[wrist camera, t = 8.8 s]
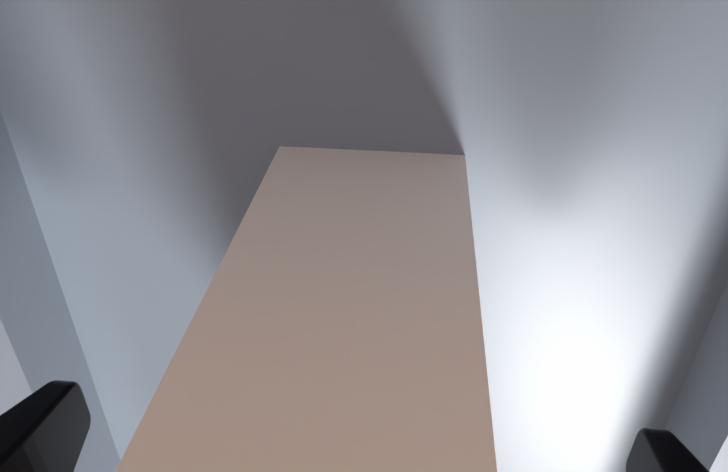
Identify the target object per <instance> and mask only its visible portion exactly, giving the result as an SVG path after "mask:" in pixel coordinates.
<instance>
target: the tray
mask: <svg viewBox="0 0 728 472" xmlns="http://www.w3.org/2000/svg"><path fill="white" fill-rule="evenodd" d="M279 146H289V147H309V148H330V149H351V150H371V151H392V152H412V153H433V154H453V155H465V159H466V169H467V178H468V188H469V198H470V208H471V218H472V228H473V238H474V248H475V258H476V267H477V277H478V287H479V297H480V307H481V317H482V327H483V337H484V347H485V356H486V366H487V376H488V386H489V396H490V406H491V416H492V426H493V435H494V445H495V455H496V465H497V472H626V461H627V458H628V455H629V453H630V450H631V448H632V445H633V443H634V440H635V438H636V435H637V433H638V431H639V430H640V429H641V428H658V429H666V430H669V431H670V432H672V433H673V434H674V435H675V436H676V437H677V438H678V439H679V440H680V441H681V442H682V443H683V444H684V445H685V446H686V447H687V448H688V450H689V451H690V452H691V453H692V454H693V455H694V456H695V457H696V458H697V459H698V460H699V461H700V462H701V463H702V464H703V465H704V466H705V467H706V468H707V469H708V470H709V471H710V472H728V0H0V415H1V414H3V413H4V412H6V411H7V410H9V409H10V408H12V407H13V406H15V405H16V404H17V403H19V402H20V401H22V400H23V399H25V398H26V397H28V396H29V395H31V394H32V393H34V392H35V391H36V390H38V389H39V388H41V387H42V386H44V385H45V384H47V383H48V382H51V381H53V380H63V381H74V382H77V383H78V384H79V385H80V386H81V389H82V391H83V394H84V397H85V400H86V403H87V405H88V408H89V411H90V414H91V424H90V428H89V432H88V434H87V437H86V440H85V442H84V445H83V448H82V451H81V453H80V456H79V459H78V461H77V464H76V467H75V469H74V472H115V471H116V469H117V467H118V465H119V463H120V461H121V459H122V457H123V455H124V453H125V451H126V449H127V447H128V445H129V443H130V441H131V439H132V437H133V435H134V433H135V431H136V429H137V427H138V425H139V423H140V421H141V419H142V417H143V415H144V414H145V412H146V410H147V408H148V406H149V404H150V402H151V400H152V398H153V396H154V394H155V392H156V390H157V388H158V386H159V384H160V382H161V380H162V378H163V376H164V374H165V372H166V370H167V368H168V366H169V364H170V362H171V360H172V358H173V356H174V354H175V352H176V350H177V348H178V346H179V344H180V342H181V340H182V338H183V336H184V334H185V332H186V330H187V328H188V326H189V324H190V322H191V321H192V319H193V317H194V315H195V313H196V311H197V309H198V307H199V305H200V303H201V301H202V299H203V297H204V295H205V293H206V291H207V289H208V287H209V285H210V283H211V281H212V279H213V277H214V275H215V273H216V271H217V269H218V267H219V265H220V263H221V261H222V259H223V257H224V255H225V253H226V251H227V249H228V247H229V245H230V243H231V241H232V239H233V237H234V235H235V233H236V231H237V229H238V227H239V226H240V224H241V222H242V220H243V218H244V216H245V214H246V212H247V210H248V208H249V206H250V204H251V202H252V200H253V198H254V196H255V194H256V192H257V190H258V188H259V186H260V184H261V182H262V180H263V178H264V176H265V174H266V172H267V170H268V168H269V166H270V164H271V162H272V160H273V158H274V156H275V154H276V152H277V150H278V148H279Z"/></svg>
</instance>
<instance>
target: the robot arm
mask: <svg viewBox="0 0 728 472" xmlns="http://www.w3.org/2000/svg"><path fill="white" fill-rule="evenodd" d="M90 424H91V414H90V411H89V408H88V405H87V403H86V400H85V397H84V394H83V391H82V389H81V386H80V385H79V384H78V383H77V382H74V381H63V380H53V381H51V382H48V383H47V384H45V385H44V386H42V387H41V388H39V389H38V390H36V391H35V392H34V393H32V394H31V395H29V396H28V397H26V398H25V399H23V400H22V401H20V402H19V403H17V404H16V405H15V406H13V407H12V408H10V409H9V410H7V411H6V412H4V413H3V414H1V415H0V472H74V469H75V467H76V464H77V461H78V459H79V456H80V453H81V451H82V448H83V445H84V442H85V440H86V437H87V434H88V432H89V428H90ZM626 472H710V471H709V470H708V469H707V468H706V467H705V466H704V465H703V464H702V463H701V462H700V461H699V460H698V459H697V458H696V457H695V456H694V455H693V454H692V453H691V452H690V451H689V450H688V448H687V447H686V446H685V445H684V444H683V443H682V442H681V441H680V440H679V439H678V438H677V437H676V436H675V435H674V434H673V433H672V432H670V431H669V430H666V429H658V428H641V429H640V430H639V431H638V433H637V435H636V438H635V440H634V443H633V445H632V448H631V450H630V453H629V455H628V458H627V461H626Z"/></svg>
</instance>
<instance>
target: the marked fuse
mask: <svg viewBox="0 0 728 472" xmlns="http://www.w3.org/2000/svg"><path fill="white" fill-rule="evenodd" d="M115 472H497V465H496V455H495V445H494V435H493V426H492V416H491V406H490V396H489V386H488V376H487V366H486V356H485V347H484V337H483V327H482V317H481V307H480V297H479V287H478V277H477V267H476V258H475V248H474V238H473V228H472V218H471V208H470V198H469V188H468V178H467V169H466V159H465V155H453V154H433V153H412V152H392V151H371V150H351V149H330V148H309V147H289V146H279V148H278V150H277V152H276V154H275V156H274V158H273V160H272V162H271V164H270V166H269V168H268V170H267V172H266V174H265V176H264V178H263V180H262V182H261V184H260V186H259V188H258V190H257V192H256V194H255V196H254V198H253V200H252V202H251V204H250V206H249V208H248V210H247V212H246V214H245V216H244V218H243V220H242V222H241V224H240V226H239V227H238V229H237V231H236V233H235V235H234V237H233V239H232V241H231V243H230V245H229V247H228V249H227V251H226V253H225V255H224V257H223V259H222V261H221V263H220V265H219V267H218V269H217V271H216V273H215V275H214V277H213V279H212V281H211V283H210V285H209V287H208V289H207V291H206V293H205V295H204V297H203V299H202V301H201V303H200V305H199V307H198V309H197V311H196V313H195V315H194V317H193V319H192V321H191V322H190V324H189V326H188V328H187V330H186V332H185V334H184V336H183V338H182V340H181V342H180V344H179V346H178V348H177V350H176V352H175V354H174V356H173V358H172V360H171V362H170V364H169V366H168V368H167V370H166V372H165V374H164V376H163V378H162V380H161V382H160V384H159V386H158V388H157V390H156V392H155V394H154V396H153V398H152V400H151V402H150V404H149V406H148V408H147V410H146V412H145V414H144V415H143V417H142V419H141V421H140V423H139V425H138V427H137V429H136V431H135V433H134V435H133V437H132V439H131V441H130V443H129V445H128V447H127V449H126V451H125V453H124V455H123V457H122V459H121V461H120V463H119V465H118V467H117V469H116V471H115Z"/></svg>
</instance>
